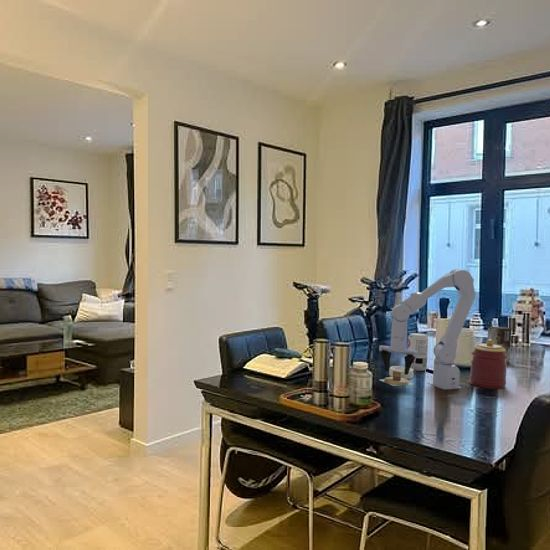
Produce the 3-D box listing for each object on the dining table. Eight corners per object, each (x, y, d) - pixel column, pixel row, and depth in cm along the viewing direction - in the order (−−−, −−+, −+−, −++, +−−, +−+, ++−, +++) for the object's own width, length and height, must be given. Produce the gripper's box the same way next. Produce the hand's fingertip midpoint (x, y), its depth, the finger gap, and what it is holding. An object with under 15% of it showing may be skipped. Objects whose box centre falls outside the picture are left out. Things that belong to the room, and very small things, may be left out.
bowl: (417, 379, 207) (418, 370, 207) (398, 380, 203) (399, 371, 203) (403, 374, 215) (404, 365, 215) (385, 375, 212) (385, 366, 212)
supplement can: (404, 369, 224) (406, 334, 223) (409, 366, 231) (411, 332, 231) (424, 372, 220) (426, 336, 220) (428, 368, 227) (430, 334, 227)
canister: (462, 383, 203) (465, 338, 202) (480, 379, 211) (482, 335, 210) (495, 391, 193) (498, 343, 192) (512, 386, 201) (515, 340, 200)
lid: (413, 384, 196) (414, 373, 196) (393, 385, 193) (394, 374, 193) (399, 378, 205) (399, 368, 205) (379, 379, 201) (380, 369, 201)
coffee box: (505, 360, 255) (507, 326, 255) (509, 362, 249) (511, 328, 248) (485, 358, 256) (487, 325, 256) (489, 361, 250) (491, 327, 249)
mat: (414, 385, 196) (414, 384, 196) (393, 386, 193) (393, 385, 193) (399, 379, 205) (399, 378, 205) (378, 380, 201) (378, 379, 201)
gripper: (421, 338, 197) (419, 374, 198) (385, 333, 206) (383, 367, 206) (414, 340, 191) (412, 377, 192) (377, 335, 200) (375, 370, 200)
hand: (396, 372), depth 199 cm, fingers open, 7 cm apart
